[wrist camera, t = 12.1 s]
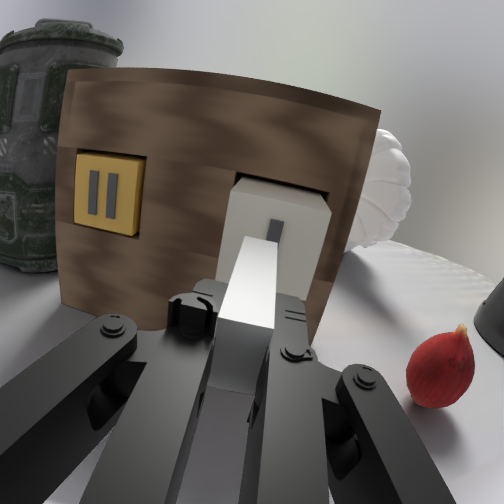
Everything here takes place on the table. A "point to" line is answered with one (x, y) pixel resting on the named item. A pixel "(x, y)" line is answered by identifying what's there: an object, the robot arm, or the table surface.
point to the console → (198, 178)
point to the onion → (441, 369)
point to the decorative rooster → (382, 194)
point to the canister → (38, 130)
